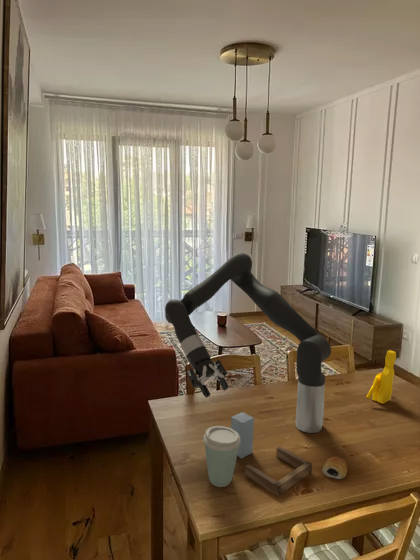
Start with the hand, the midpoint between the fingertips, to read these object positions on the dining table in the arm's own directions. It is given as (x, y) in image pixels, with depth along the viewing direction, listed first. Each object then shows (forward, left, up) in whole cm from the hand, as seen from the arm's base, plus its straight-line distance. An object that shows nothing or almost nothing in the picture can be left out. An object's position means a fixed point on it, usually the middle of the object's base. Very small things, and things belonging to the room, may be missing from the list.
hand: (217, 392), depth 142 cm
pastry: (-14, +37, -17) cm, 43 cm away
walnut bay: (0, +27, -16) cm, 31 cm away
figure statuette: (-71, +24, -16) cm, 76 cm away
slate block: (0, +12, -16) cm, 20 cm away
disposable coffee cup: (+15, +18, -16) cm, 28 cm away
